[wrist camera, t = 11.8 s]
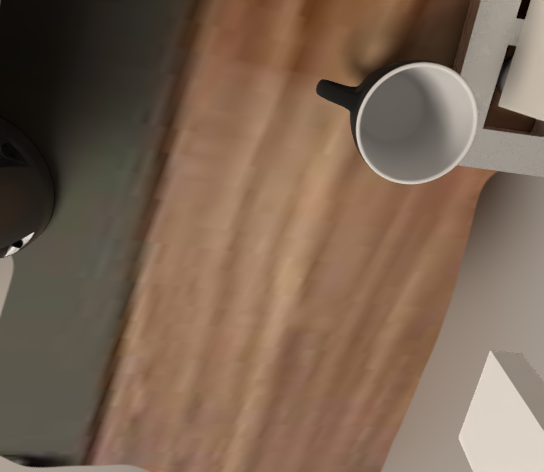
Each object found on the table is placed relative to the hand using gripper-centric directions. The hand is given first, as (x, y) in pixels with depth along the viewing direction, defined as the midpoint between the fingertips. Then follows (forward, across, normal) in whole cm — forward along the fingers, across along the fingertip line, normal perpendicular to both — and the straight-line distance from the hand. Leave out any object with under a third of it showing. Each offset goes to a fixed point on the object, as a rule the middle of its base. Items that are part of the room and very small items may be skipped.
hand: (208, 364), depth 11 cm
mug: (+36, +10, +3) cm, 38 cm away
